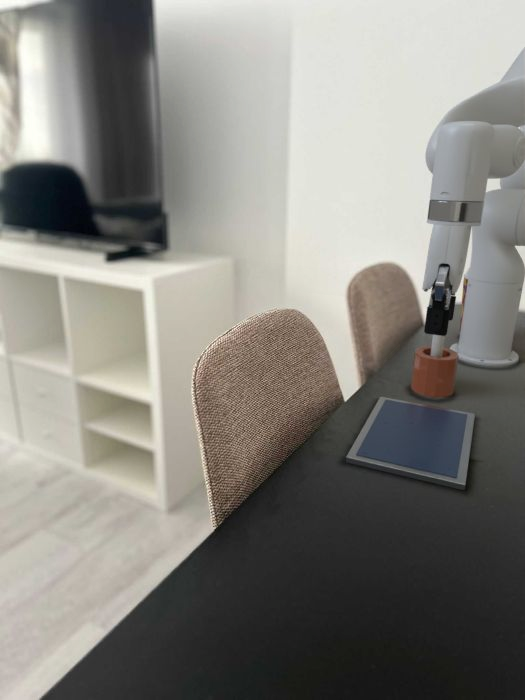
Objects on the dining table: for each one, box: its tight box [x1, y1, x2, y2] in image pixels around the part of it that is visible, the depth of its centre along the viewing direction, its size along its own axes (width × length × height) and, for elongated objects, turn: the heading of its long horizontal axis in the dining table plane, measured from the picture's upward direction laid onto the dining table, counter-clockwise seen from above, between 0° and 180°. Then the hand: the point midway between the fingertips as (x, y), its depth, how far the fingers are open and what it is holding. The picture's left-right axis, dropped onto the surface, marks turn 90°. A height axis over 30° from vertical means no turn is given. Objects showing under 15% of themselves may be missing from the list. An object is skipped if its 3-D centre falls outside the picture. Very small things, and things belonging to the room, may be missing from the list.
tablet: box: [345, 396, 476, 491], centre depth 70 cm, size 20×14×1 cm
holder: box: [410, 345, 459, 398], centre depth 83 cm, size 7×7×7 cm
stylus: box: [430, 334, 446, 357], centre depth 82 cm, size 2×2×14 cm
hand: (438, 326), depth 80 cm, fingers open, 9 cm apart
